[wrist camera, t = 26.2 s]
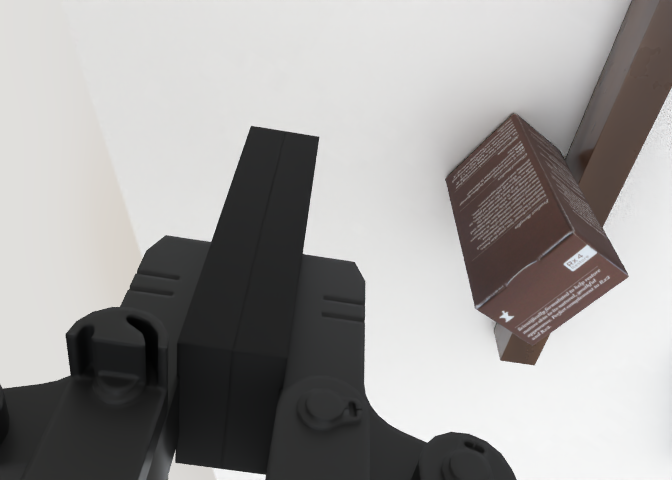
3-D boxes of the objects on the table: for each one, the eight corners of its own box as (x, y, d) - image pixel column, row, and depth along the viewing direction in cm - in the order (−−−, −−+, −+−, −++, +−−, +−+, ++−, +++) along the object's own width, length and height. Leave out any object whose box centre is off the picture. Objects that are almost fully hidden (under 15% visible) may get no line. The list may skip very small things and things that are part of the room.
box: (494, 215, 41) (531, 351, 32) (443, 176, 40) (466, 306, 30) (568, 151, 39) (634, 279, 29) (516, 107, 37) (568, 226, 27)
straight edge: (493, 330, 47) (499, 360, 45) (719, -209, 28) (751, -207, 26) (526, 335, 48) (534, 365, 45) (773, -198, 28) (811, -195, 26)
